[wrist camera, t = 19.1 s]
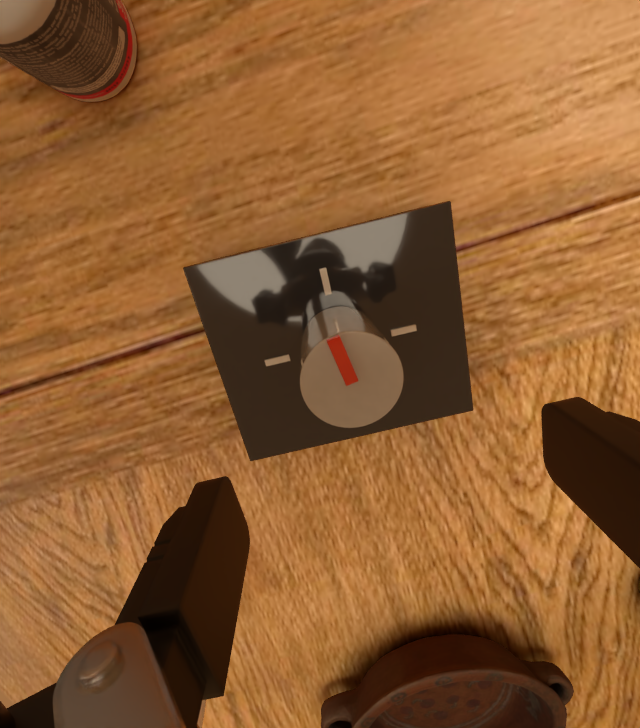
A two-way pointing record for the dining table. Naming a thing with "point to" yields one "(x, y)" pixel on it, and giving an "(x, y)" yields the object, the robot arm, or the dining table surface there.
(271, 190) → the dining table surface
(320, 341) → the stove knob
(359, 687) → the dish
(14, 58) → the pill bottle
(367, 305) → the black dial box
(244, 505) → the dining table surface
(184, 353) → the dining table surface
